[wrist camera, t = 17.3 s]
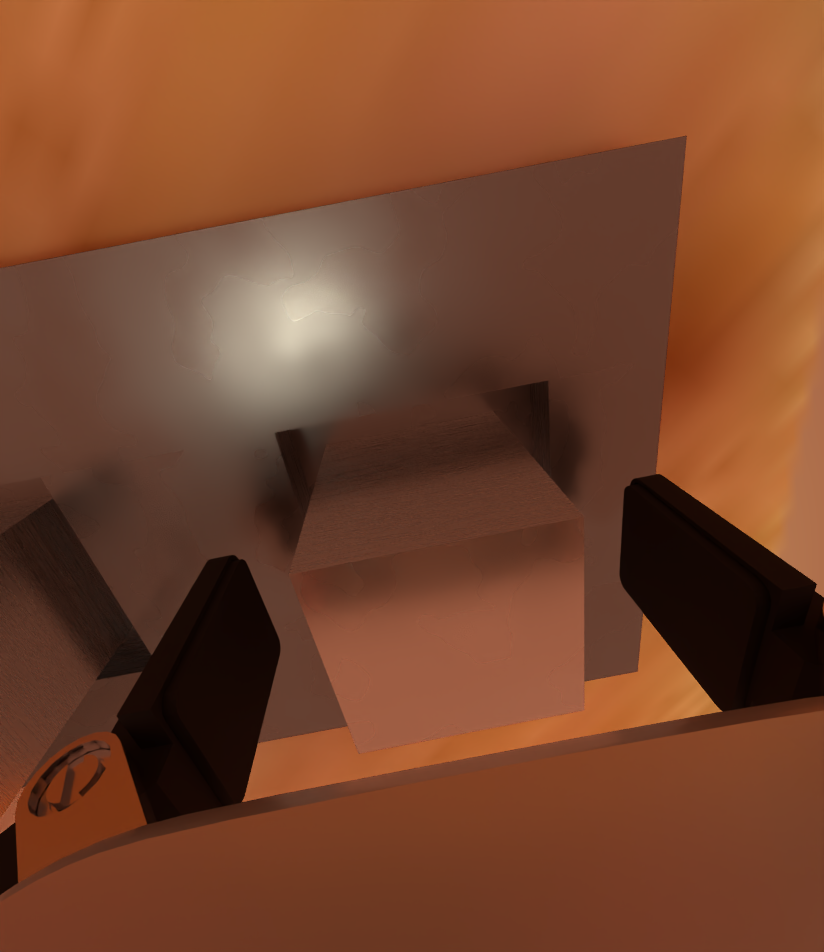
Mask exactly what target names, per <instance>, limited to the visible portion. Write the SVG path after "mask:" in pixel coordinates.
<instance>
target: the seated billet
mask: <svg viewBox="0 0 824 952" xmlns="http://www.w3.org/2000/svg"><path fill="white" fill-rule="evenodd" d="M132 627H133V625H132V623H131V622H130V620H129V618H128V617H127V615H126V614H125V612H124V610H123V609H122V607H121V606H120V604H119V602H118V601H117V599H116V598H115V596H114V594H113V593H112V591H111V590H110V588H109V586H108V585H107V583H106V582H105V580H104V578H103V577H102V575H101V574H100V572H99V571H98V569H97V567H96V566H95V564H94V563H93V561H92V559H91V558H90V556H89V555H88V553H87V551H86V550H85V548H84V547H83V545H82V543H81V542H80V540H79V539H78V537H77V535H76V534H75V532H74V531H73V529H72V527H71V526H70V524H69V523H68V521H67V520H66V518H65V516H64V515H63V513H62V512H61V510H60V508H59V507H58V505H57V504H56V502H55V500H54V499H53V497H52V496H51V494H48V495H43V496H37V497H32V498H27V499H22V500H16V501H11V502H6V503H1V504H0V818H1V817H2V815H3V814H4V812H5V811H6V809H7V808H8V806H9V805H10V803H11V802H12V801H13V799H14V798H15V796H16V795H17V793H18V792H19V790H20V789H21V788H22V786H23V785H24V783H25V782H26V780H27V779H28V777H29V776H30V774H31V773H32V772H33V770H34V769H35V767H36V766H37V764H38V763H39V761H40V760H41V759H42V757H43V756H44V754H45V753H46V751H47V750H48V748H49V747H50V745H51V744H52V743H53V741H54V740H55V738H56V737H57V735H58V734H59V732H60V731H61V730H62V728H63V727H64V725H65V724H66V722H67V721H68V719H69V718H70V716H71V715H72V714H73V712H74V711H75V709H76V708H77V706H78V705H79V703H80V702H81V701H82V699H83V698H84V696H85V695H86V693H87V692H88V690H89V689H90V687H91V686H92V685H93V683H94V682H95V680H96V679H97V677H98V676H99V674H100V673H101V672H102V670H103V669H104V667H105V666H106V664H107V663H108V661H109V660H110V658H111V657H112V656H113V654H114V653H115V651H116V650H117V648H118V647H119V645H120V644H121V643H122V641H123V640H124V638H125V637H126V635H127V634H128V632H129V631H130V629H131V628H132Z"/></svg>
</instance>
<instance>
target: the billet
mask: <svg viewBox="0 0 824 952" xmlns="http://www.w3.org/2000/svg"><path fill="white" fill-rule="evenodd" d="M289 577H290V579H291V582H292V585H293V587H294V590H295V592H296V595H297V597H298V600H299V602H300V605H301V608H302V610H303V613H304V615H305V618H306V620H307V623H308V625H309V628H310V631H311V633H312V636H313V638H314V641H315V643H316V646H317V649H318V651H319V654H320V656H321V659H322V661H323V664H324V666H325V669H326V672H327V674H328V677H329V679H330V682H331V684H332V687H333V689H334V692H335V695H336V697H337V700H338V702H339V705H340V707H341V710H342V712H343V715H344V718H345V720H346V723H347V725H348V728H349V730H350V733H351V735H352V738H353V741H354V743H355V746H356V748H357V751H358V753H359V754H360V753H365V752H371V751H376V750H381V749H386V748H391V747H397V746H402V745H407V744H412V743H417V742H422V741H428V740H433V739H438V738H443V737H448V736H454V735H459V734H464V733H469V732H474V731H479V730H485V729H490V728H495V727H500V726H505V725H510V724H516V723H521V722H526V721H531V720H536V719H542V718H547V717H552V716H557V715H562V714H567V713H573V712H578V711H583V710H584V516H583V515H582V514H581V513H580V511H579V510H578V509H577V508H576V507H575V506H574V504H573V503H572V502H571V501H570V500H569V499H568V498H567V496H566V495H565V494H564V493H563V492H562V491H561V489H560V488H559V487H558V486H557V485H556V484H555V482H554V481H553V480H552V479H551V478H550V477H549V475H548V474H547V473H546V472H545V471H544V470H543V468H542V467H541V466H540V465H539V464H538V463H537V462H536V460H535V459H534V458H533V457H532V456H531V455H530V453H529V452H528V451H527V450H526V449H525V448H524V446H523V445H522V444H521V443H520V442H519V441H518V439H517V438H516V437H515V436H514V435H513V434H512V433H511V431H510V430H509V429H508V428H507V427H506V426H505V424H504V423H503V422H502V421H501V420H500V419H499V417H498V416H497V415H496V414H495V413H494V412H493V411H492V412H487V413H482V414H477V415H472V416H467V417H462V418H457V419H452V420H447V421H442V422H437V423H432V424H427V425H422V426H417V427H412V428H407V429H402V430H397V431H392V432H387V433H382V434H377V435H372V436H367V437H362V438H357V439H352V440H347V441H342V442H336V443H331V444H326V447H325V451H324V454H323V458H322V461H321V465H320V468H319V472H318V475H317V479H316V482H315V486H314V489H313V492H312V496H311V499H310V503H309V506H308V510H307V513H306V517H305V520H304V524H303V527H302V531H301V534H300V538H299V541H298V545H297V548H296V551H295V555H294V558H293V562H292V565H291V569H290V572H289Z"/></svg>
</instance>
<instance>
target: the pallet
mask: <svg viewBox="0 0 824 952" xmlns="http://www.w3.org/2000/svg"><path fill="white" fill-rule="evenodd" d="M686 137H687V136H683V137H677V138H672V139H667V140H662V141H657V142H651V143H646V144H641V145H636V146H631V147H626V148H620V149H615V150H610V151H605V152H600V153H595V154H589V155H584V156H579V157H574V158H569V159H563V160H558V161H553V162H548V163H543V164H538V165H532V166H527V167H522V168H517V169H512V170H507V171H501V172H496V173H491V174H486V175H481V176H475V177H470V178H465V179H460V180H455V181H450V182H444V183H439V184H434V185H429V186H424V187H418V188H413V189H408V190H403V191H398V192H393V193H387V194H382V195H377V196H372V197H367V198H362V199H356V200H351V201H346V202H341V203H336V204H330V205H325V206H320V207H315V208H310V209H305V210H299V211H294V212H289V213H284V214H279V215H274V216H268V217H263V218H258V219H253V220H248V221H242V222H237V223H232V224H227V225H222V226H217V227H211V228H206V229H201V230H196V231H191V232H185V233H180V234H175V235H170V236H165V237H160V238H154V239H149V240H144V241H139V242H134V243H129V244H123V245H118V246H113V247H108V248H103V249H97V250H92V251H87V252H82V253H77V254H72V255H66V256H61V257H56V258H51V259H46V260H41V261H35V262H30V263H25V264H20V265H15V266H9V267H4V268H0V504H1V503H6V502H11V501H16V500H22V499H27V498H32V497H37V496H43V495H48V494H51V496H52V497H53V499H54V500H55V502H56V504H57V505H58V507H59V508H60V510H61V512H62V513H63V515H64V516H65V518H66V520H67V521H68V523H69V524H70V526H71V527H72V529H73V531H74V532H75V534H76V535H77V537H78V539H79V540H80V542H81V543H82V545H83V547H84V548H85V550H86V551H87V553H88V555H89V556H90V558H91V559H92V561H93V563H94V564H95V566H96V567H97V569H98V571H99V572H100V574H101V575H102V577H103V578H104V580H105V582H106V583H107V585H108V586H109V588H110V590H111V591H112V593H113V594H114V596H115V598H116V599H117V601H118V602H119V604H120V606H121V607H122V609H123V610H124V612H125V614H126V615H127V617H128V618H129V620H130V622H131V623H132V625H133V627H132V628H131V629H130V631H129V632H128V634H127V635H126V637H125V638H124V640H123V641H122V643H121V644H120V645H119V647H118V648H117V650H116V651H115V653H114V654H113V656H112V657H111V658H110V660H109V661H108V663H107V664H106V666H105V667H104V669H103V670H102V672H101V673H100V674H99V676H98V677H97V679H96V680H95V682H94V683H93V685H92V686H91V687H90V689H89V690H88V692H87V693H86V695H85V696H84V698H83V699H82V701H81V702H80V703H79V705H78V706H77V708H76V709H75V711H74V712H73V714H72V715H71V716H70V718H69V719H68V721H67V722H66V724H65V725H64V727H63V728H62V730H61V731H60V732H59V734H58V735H57V737H56V738H55V740H54V741H53V743H52V744H51V745H50V747H49V748H48V750H47V751H46V753H45V754H44V756H43V757H42V759H41V760H40V761H39V763H38V764H37V766H36V767H35V769H34V770H33V772H32V773H31V774H30V776H29V777H28V779H27V780H26V782H25V783H24V785H23V786H22V787H25V786H26V785H27V784H28V782H29V781H30V780H31V778H32V777H33V776H34V774H35V773H36V772H37V771H38V770H39V769H40V768H41V767H42V766H43V765H44V764H45V763H46V762H47V761H48V760H49V759H50V758H51V757H52V756H54V755H55V754H56V753H58V752H59V751H60V750H61V749H63V748H64V747H65V746H67V745H69V744H71V743H72V742H74V741H76V740H78V739H79V738H81V737H84V736H87V735H90V734H92V733H96V732H105V731H107V732H110V733H111V731H112V730H113V728H114V726H115V724H116V723H117V721H118V718H117V717H116V715H117V714H118V712H119V710H120V709H121V707H122V705H123V704H124V702H125V700H126V698H127V697H128V695H129V693H130V692H131V690H132V688H133V686H134V685H135V683H136V681H137V680H138V678H139V676H140V675H141V673H142V671H143V669H144V668H145V666H146V664H147V663H148V661H149V659H150V658H151V656H152V654H153V652H154V651H155V649H156V647H157V646H158V644H159V642H160V640H161V639H162V637H163V635H164V634H165V632H166V630H167V629H168V627H169V625H170V623H171V622H172V620H173V618H174V617H175V615H176V613H177V612H178V610H179V608H180V606H181V605H182V603H183V601H184V600H185V598H186V596H187V594H188V593H189V591H190V589H191V588H192V586H193V584H194V583H195V581H196V579H197V577H198V576H199V574H200V572H201V571H202V569H203V567H204V566H205V564H206V562H207V561H208V560H210V559H213V558H219V557H224V556H229V555H235V556H236V557H237V558H238V559H239V560H240V559H243V560H245V561H246V563H247V565H248V567H249V569H250V572H251V574H252V576H253V579H254V581H255V583H256V586H257V588H258V590H259V593H260V595H261V597H262V600H263V602H264V604H265V607H266V609H267V611H268V614H269V616H270V618H271V621H272V623H273V625H274V628H275V630H276V632H277V635H278V637H279V640H280V647H281V650H280V657H279V661H278V665H277V669H276V673H275V677H274V681H273V685H272V688H271V692H270V696H269V700H268V704H267V708H266V712H265V716H264V720H263V724H262V728H261V732H260V736H259V740H258V743H260V742H265V741H271V740H276V739H281V738H287V737H292V736H297V735H302V734H308V733H313V732H318V731H324V730H329V729H334V728H340V727H345V726H348V725H347V723H346V720H345V718H344V715H343V712H342V710H341V707H340V705H339V702H338V700H337V697H336V695H335V692H334V689H333V687H332V684H331V682H330V679H329V677H328V674H327V672H326V669H325V666H324V664H323V661H322V659H321V656H320V654H319V651H318V649H317V646H316V643H315V641H314V638H313V636H312V633H311V631H310V628H309V625H308V623H307V620H306V618H305V615H304V613H303V610H302V608H301V605H300V602H299V600H298V597H297V595H296V592H295V590H294V587H293V585H292V582H291V579H290V577H289V572H290V569H291V565H292V562H293V558H294V555H295V551H296V548H297V545H298V541H299V538H300V534H301V531H302V527H303V524H304V520H305V517H306V513H307V510H308V506H309V503H310V499H311V496H312V492H313V489H314V486H315V482H316V479H317V475H318V472H319V468H320V465H321V461H322V458H323V454H324V451H325V447H326V444H331V443H336V442H342V441H347V440H352V439H357V438H362V437H367V436H372V435H377V434H382V433H387V432H392V431H397V430H402V429H407V428H412V427H417V426H422V425H427V424H432V423H437V422H442V421H447V420H452V419H457V418H462V417H467V416H472V415H477V414H482V413H487V412H492V411H493V412H494V413H495V414H496V415H497V416H498V417H499V419H500V420H501V421H502V422H503V423H504V424H505V426H506V427H507V428H508V429H509V430H510V431H511V433H512V434H513V435H514V436H515V437H516V438H517V439H518V441H519V442H520V443H521V444H522V445H523V446H524V448H525V449H526V450H527V451H528V452H529V453H530V455H531V456H532V457H533V458H534V459H535V460H536V462H537V463H538V464H539V465H540V466H541V467H542V468H543V470H544V471H545V472H546V473H547V474H548V475H549V477H550V478H551V479H552V480H553V481H554V482H555V484H556V485H557V486H558V487H559V488H560V489H561V491H562V492H563V493H564V494H565V495H566V496H567V498H568V499H569V500H570V501H571V502H572V503H573V504H574V506H575V507H576V508H577V509H578V510H579V511H580V513H581V514H582V515H583V516H584V681H589V680H595V679H600V678H605V677H611V676H616V675H621V674H627V673H632V672H637V671H638V661H639V650H640V639H641V628H642V617H643V612H642V611H641V609H640V608H639V607H638V606H637V604H636V603H635V602H634V601H633V599H632V598H631V597H630V596H629V594H628V593H627V592H626V591H625V589H624V588H623V586H622V584H621V581H620V576H619V570H620V552H621V534H622V516H623V498H624V489H625V487H627V486H630V483H631V481H632V480H633V479H634V478H640V477H645V476H650V475H655V474H656V464H657V453H658V442H659V432H660V421H661V410H662V399H663V388H664V377H665V366H666V355H667V344H668V333H669V322H670V311H671V301H672V290H673V279H674V268H675V257H676V246H677V235H678V224H679V213H680V202H681V191H682V181H683V170H684V159H685V148H686Z"/></svg>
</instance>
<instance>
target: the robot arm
mask: <svg viewBox="0 0 824 952" xmlns="http://www.w3.org/2000/svg"><path fill="white" fill-rule="evenodd" d="M619 576H620V581H621V584H622V586H623V588H624V589H625V591H626V592H627V593H628V594H629V596H630V597H631V598H632V599H633V601H634V602H635V603H636V604H637V606H638V607H639V608H640V609H641V611H642V612H643V613H644V615H645V616H646V617H647V618H648V620H649V621H650V622H651V623H652V625H653V626H654V627H655V628H656V630H657V631H658V632H659V633H660V635H661V636H662V637H663V639H664V640H665V641H666V642H667V644H668V645H669V646H670V647H671V649H672V650H673V651H674V652H675V654H676V655H677V656H678V657H679V659H680V660H681V661H682V663H683V664H684V665H685V666H686V668H687V669H688V670H689V671H690V673H691V674H692V675H693V676H694V678H695V679H696V680H697V682H698V683H699V684H700V685H701V687H702V688H703V689H704V690H705V692H706V693H707V694H708V695H709V697H710V698H711V699H712V700H713V702H714V703H715V704H716V705H717V707H718V708H719V709H720V710H722V711H723V712H718V713H712V714H706V715H701V716H695V717H690V718H684V719H679V720H673V721H668V722H662V723H657V724H651V725H646V726H640V727H635V728H629V729H624V730H618V731H613V732H607V733H602V734H596V735H591V736H585V737H580V738H574V739H569V740H564V741H558V742H553V743H548V744H542V745H537V746H531V747H526V748H521V749H515V750H510V751H505V752H499V753H494V754H489V755H483V756H478V757H473V758H467V759H462V760H457V761H452V762H446V763H441V764H436V765H430V766H425V767H420V768H414V769H409V770H404V771H399V772H394V773H389V774H383V775H378V776H373V777H368V778H363V779H358V780H352V781H347V782H342V783H337V784H332V785H327V786H321V787H316V788H311V789H306V790H301V791H296V792H290V793H285V794H280V795H275V796H270V797H265V798H261V799H256V800H251V801H247V802H242V800H243V799H244V796H245V792H246V788H247V784H248V780H249V776H250V772H251V768H252V764H253V760H254V756H255V752H256V748H257V744H258V740H259V736H260V732H261V728H262V724H263V720H264V716H265V712H266V708H267V704H268V700H269V696H270V692H271V688H272V685H273V681H274V677H275V673H276V669H277V665H278V661H279V657H280V650H281V647H280V640H279V637H278V635H277V632H276V630H275V628H274V625H273V623H272V621H271V618H270V616H269V614H268V611H267V609H266V607H265V604H264V602H263V600H262V597H261V595H260V593H259V590H258V588H257V586H256V583H255V581H254V579H253V576H252V574H251V572H250V569H249V567H248V565H247V563H246V561H245V560H243V559H240V560H239V559H238V558H237V557H236V556H235V555H229V556H224V557H219V558H213V559H210V560H208V561H207V562H206V564H205V566H204V567H203V569H202V571H201V572H200V574H199V576H198V577H197V579H196V581H195V583H194V584H193V586H192V588H191V589H190V591H189V593H188V594H187V596H186V598H185V600H184V601H183V603H182V605H181V606H180V608H179V610H178V612H177V613H176V615H175V617H174V618H173V620H172V622H171V623H170V625H169V627H168V629H167V630H166V632H165V634H164V635H163V637H162V639H161V640H160V642H159V644H158V646H157V647H156V649H155V651H154V652H153V654H152V656H151V658H150V659H149V661H148V663H147V664H146V666H145V668H144V669H143V671H142V673H141V675H140V676H139V678H138V680H137V681H136V683H135V685H134V686H133V688H132V690H131V692H130V693H129V695H128V697H127V698H126V700H125V702H124V704H123V705H122V707H121V709H120V710H119V712H118V714H117V715H116V717H117V718H118V721H117V723H116V724H115V726H114V728H113V730H112V731H111V733H110V732H107V731H105V732H96V733H92V734H90V735H87V736H84V737H81V738H79V739H78V740H76V741H74V742H72V743H71V744H69V745H67V746H65V747H64V748H63V749H61V750H60V751H59V752H58V753H56V754H55V755H54V756H52V757H51V758H50V759H49V760H48V761H47V762H46V763H45V764H44V765H43V766H42V767H41V768H40V769H39V770H38V771H37V772H36V773H35V774H34V776H33V777H32V778H31V780H30V781H29V782H28V784H27V785H26V786H25V788H24V790H23V792H22V794H21V796H20V798H19V800H18V802H17V807H16V813H15V823H14V824H13V825H11V826H10V827H9V828H7V829H6V830H5V831H4V832H2V833H1V834H0V952H824V597H822V596H821V595H819V594H818V593H817V592H815V588H816V585H817V584H816V583H815V582H813V581H812V580H811V579H809V578H808V577H806V576H805V575H803V574H802V573H801V572H799V571H798V570H796V569H795V568H794V567H792V566H791V565H789V564H788V563H786V562H785V561H783V560H782V559H781V558H779V557H778V556H776V555H775V554H774V553H772V552H771V551H769V550H768V549H766V548H765V547H764V546H762V545H761V544H759V543H758V542H756V541H755V540H754V539H752V538H751V537H749V536H748V535H746V534H745V533H744V532H742V531H741V530H739V529H738V528H736V527H735V526H734V525H732V524H731V523H729V522H728V521H726V520H725V519H724V518H722V517H721V516H719V515H718V514H716V513H715V512H714V511H712V510H711V509H709V508H708V507H706V506H705V505H704V504H702V503H701V502H699V501H698V500H696V499H695V498H694V497H692V496H691V495H689V494H688V493H686V492H685V491H684V490H682V489H681V488H679V487H678V486H677V485H675V484H674V483H672V482H671V481H669V480H668V479H667V478H665V477H664V476H662V475H660V474H655V475H650V476H645V477H640V478H634V479H633V480H632V481H631V483H630V486H627V487H625V489H624V498H623V516H622V534H621V552H620V570H619ZM241 802H242V803H241Z"/></svg>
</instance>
